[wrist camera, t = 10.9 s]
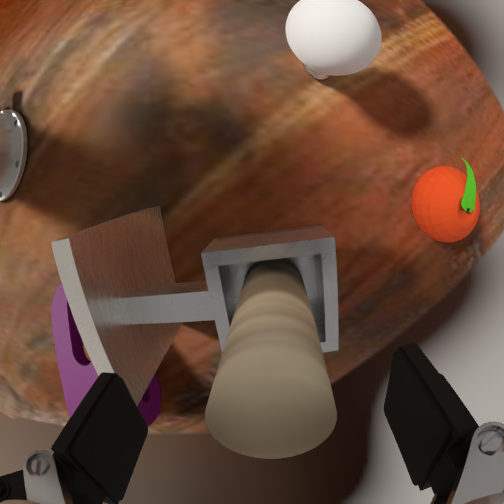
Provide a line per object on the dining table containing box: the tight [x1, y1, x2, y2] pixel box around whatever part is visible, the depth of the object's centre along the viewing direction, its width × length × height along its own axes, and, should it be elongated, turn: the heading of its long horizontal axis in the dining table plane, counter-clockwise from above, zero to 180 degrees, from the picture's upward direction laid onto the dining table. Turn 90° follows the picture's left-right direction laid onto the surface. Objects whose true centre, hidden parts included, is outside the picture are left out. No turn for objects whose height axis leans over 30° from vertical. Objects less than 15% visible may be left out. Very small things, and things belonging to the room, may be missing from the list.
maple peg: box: [205, 258, 337, 459], centre depth 13 cm, size 4×4×12 cm
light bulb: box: [286, 0, 382, 80], centre depth 17 cm, size 7×7×11 cm
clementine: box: [411, 157, 480, 243], centre depth 21 cm, size 8×7×7 cm
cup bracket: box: [51, 206, 338, 406], centre depth 20 cm, size 12×15×14 cm
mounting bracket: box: [51, 283, 161, 427], centre depth 30 cm, size 10×8×18 cm
